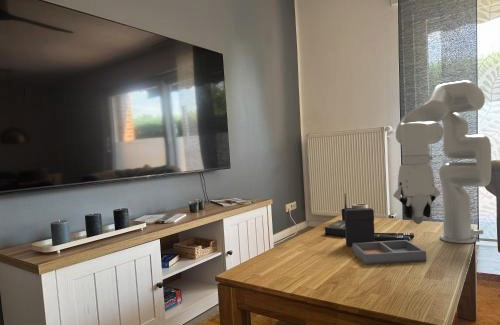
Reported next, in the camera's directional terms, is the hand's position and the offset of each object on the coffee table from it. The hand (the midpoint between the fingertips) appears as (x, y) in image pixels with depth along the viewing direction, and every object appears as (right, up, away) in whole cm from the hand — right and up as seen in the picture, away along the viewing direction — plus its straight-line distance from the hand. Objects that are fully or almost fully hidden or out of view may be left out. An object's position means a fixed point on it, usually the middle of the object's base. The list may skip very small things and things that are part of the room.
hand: (417, 216), depth 108 cm
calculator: (-9, -17, +29) cm, 35 cm away
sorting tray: (-4, -17, +14) cm, 22 cm away
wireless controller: (-9, -16, +52) cm, 56 cm away
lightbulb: (0, -3, 0) cm, 3 cm away
